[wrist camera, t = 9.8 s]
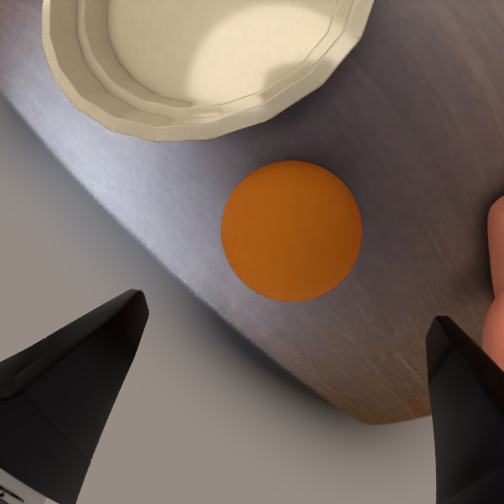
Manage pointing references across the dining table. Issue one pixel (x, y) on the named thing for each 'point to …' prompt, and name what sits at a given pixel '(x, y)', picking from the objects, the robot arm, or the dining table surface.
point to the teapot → (495, 286)
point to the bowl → (195, 59)
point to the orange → (291, 230)
